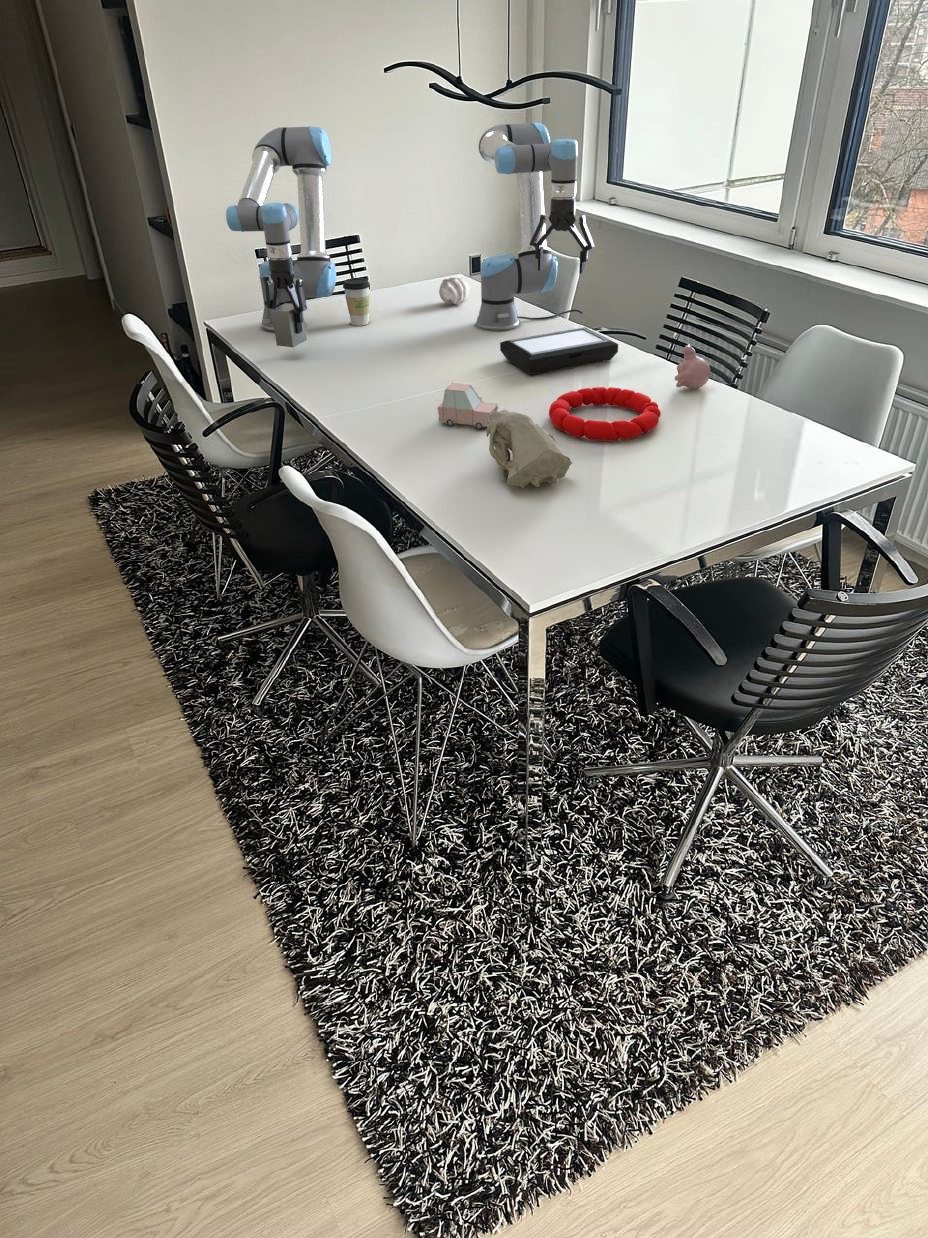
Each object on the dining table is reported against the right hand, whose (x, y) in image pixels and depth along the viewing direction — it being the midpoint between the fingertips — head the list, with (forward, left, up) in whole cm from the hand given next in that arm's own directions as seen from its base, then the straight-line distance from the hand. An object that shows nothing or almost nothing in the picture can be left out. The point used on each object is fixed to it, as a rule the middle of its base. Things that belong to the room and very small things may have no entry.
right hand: (560, 271), depth 280 cm
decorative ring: (+35, +51, -25) cm, 67 cm away
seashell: (-12, -68, -25) cm, 74 cm away
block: (+66, -59, -21) cm, 91 cm away
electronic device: (+7, +7, -25) cm, 27 cm away
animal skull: (+72, +58, -25) cm, 96 cm away
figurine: (-2, +52, -25) cm, 58 cm away
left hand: (+66, -59, -17) cm, 90 cm away
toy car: (+62, +26, -25) cm, 72 cm away
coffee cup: (+28, -74, -25) cm, 83 cm away
